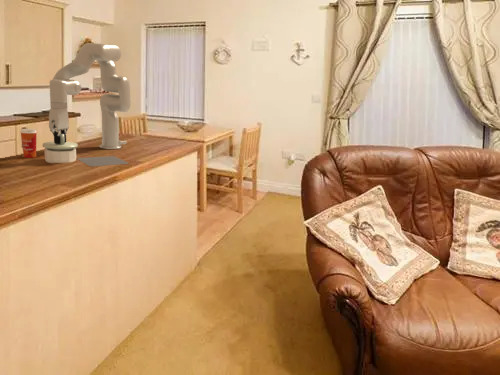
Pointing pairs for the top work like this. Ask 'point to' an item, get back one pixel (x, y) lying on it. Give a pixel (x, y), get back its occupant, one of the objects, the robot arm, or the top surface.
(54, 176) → the top surface
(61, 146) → the lid
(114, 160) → the mat
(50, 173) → the top surface
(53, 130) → the robot arm
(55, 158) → the bowl
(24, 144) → the paper cup
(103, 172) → the top surface
